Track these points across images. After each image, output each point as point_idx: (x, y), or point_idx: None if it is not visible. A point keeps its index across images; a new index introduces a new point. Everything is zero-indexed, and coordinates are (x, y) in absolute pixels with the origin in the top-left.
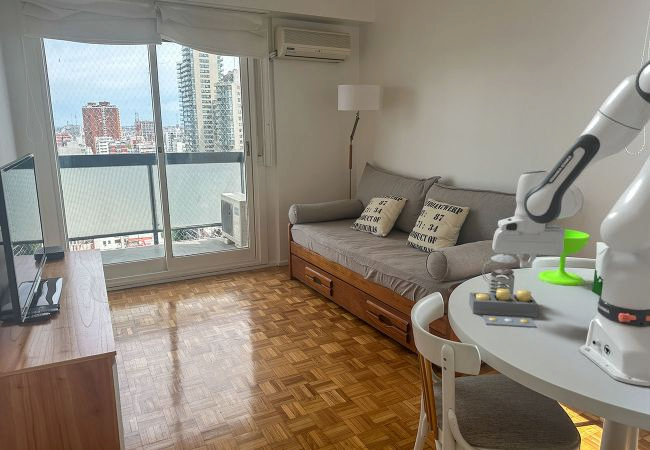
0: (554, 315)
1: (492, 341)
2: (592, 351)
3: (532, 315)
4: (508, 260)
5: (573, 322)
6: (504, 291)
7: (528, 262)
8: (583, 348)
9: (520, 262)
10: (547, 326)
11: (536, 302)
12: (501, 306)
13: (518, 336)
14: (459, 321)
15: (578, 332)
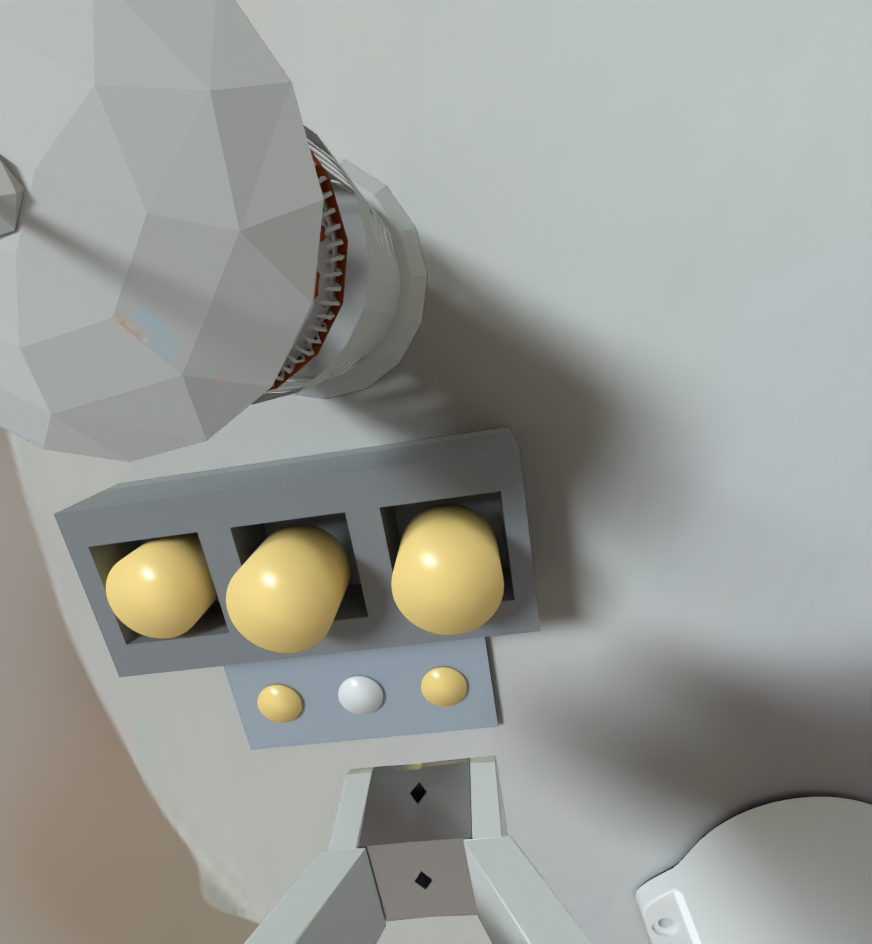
0: (641, 532)
1: (294, 882)
2: (679, 934)
3: None
4: (161, 407)
5: (723, 609)
6: (289, 620)
7: (465, 900)
8: (651, 920)
9: (338, 847)
10: (558, 694)
11: (535, 596)
12: None
13: None
14: (125, 738)
15: (700, 726)
